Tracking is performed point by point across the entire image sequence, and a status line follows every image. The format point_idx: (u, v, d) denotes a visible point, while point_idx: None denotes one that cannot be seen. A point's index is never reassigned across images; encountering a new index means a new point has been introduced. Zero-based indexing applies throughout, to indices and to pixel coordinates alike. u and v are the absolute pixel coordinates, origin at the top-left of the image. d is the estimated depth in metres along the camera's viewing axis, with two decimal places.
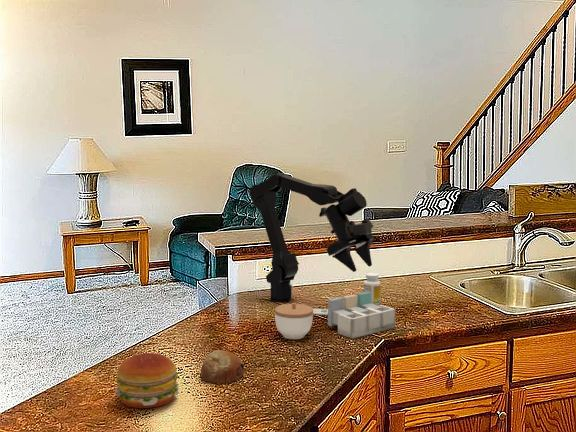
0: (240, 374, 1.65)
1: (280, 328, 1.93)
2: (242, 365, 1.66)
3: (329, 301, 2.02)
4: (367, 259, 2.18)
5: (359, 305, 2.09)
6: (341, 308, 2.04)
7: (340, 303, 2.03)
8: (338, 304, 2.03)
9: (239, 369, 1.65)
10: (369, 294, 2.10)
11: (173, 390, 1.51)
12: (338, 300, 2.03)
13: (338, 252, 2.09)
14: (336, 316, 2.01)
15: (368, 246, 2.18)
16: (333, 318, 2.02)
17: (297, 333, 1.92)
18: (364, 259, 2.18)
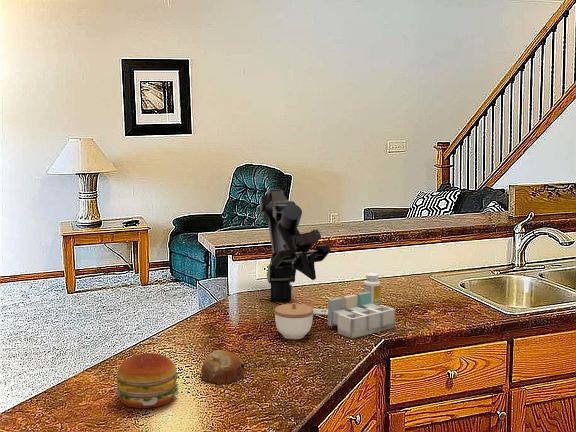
0: (241, 374, 1.65)
1: (280, 328, 1.93)
2: (242, 365, 1.66)
3: (329, 301, 2.02)
4: None
5: (359, 305, 2.09)
6: (341, 308, 2.04)
7: (340, 303, 2.03)
8: (338, 304, 2.03)
9: (240, 369, 1.65)
10: (369, 294, 2.10)
11: (173, 390, 1.51)
12: (338, 300, 2.03)
13: (294, 261, 2.11)
14: (336, 316, 2.01)
15: (312, 259, 2.12)
16: (333, 318, 2.02)
17: (297, 333, 1.92)
18: None
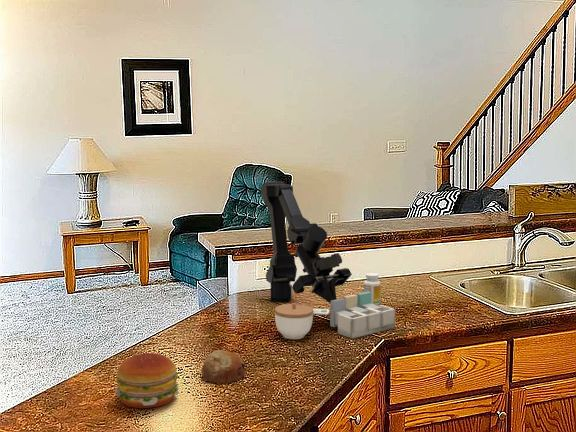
0: (241, 374, 1.65)
1: (280, 328, 1.93)
2: (243, 365, 1.66)
3: (331, 302, 2.01)
4: None
5: (359, 305, 2.09)
6: (344, 309, 2.03)
7: (342, 304, 2.03)
8: (341, 305, 2.02)
9: (240, 369, 1.65)
10: (369, 294, 2.10)
11: (173, 390, 1.51)
12: (341, 301, 2.02)
13: (315, 286, 2.04)
14: None
15: (332, 284, 2.06)
16: (335, 319, 2.01)
17: (297, 333, 1.92)
18: None
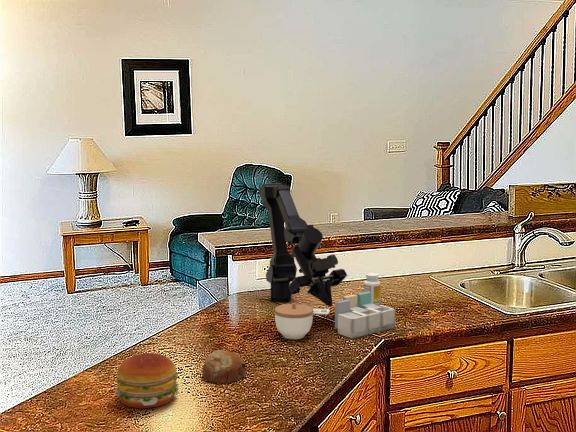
0: (242, 374, 1.65)
1: (280, 328, 1.93)
2: (243, 365, 1.66)
3: (336, 303, 2.00)
4: None
5: (359, 305, 2.09)
6: (348, 310, 2.02)
7: (347, 306, 2.01)
8: (345, 306, 2.01)
9: (241, 369, 1.65)
10: (369, 294, 2.10)
11: (173, 390, 1.51)
12: (345, 302, 2.01)
13: (310, 287, 2.06)
14: None
15: (328, 285, 2.07)
16: None
17: (297, 333, 1.92)
18: None
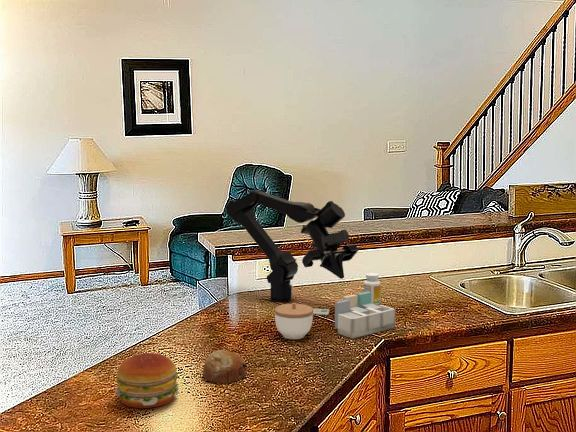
0: (242, 374, 1.65)
1: (280, 328, 1.93)
2: (244, 365, 1.66)
3: (336, 303, 2.00)
4: None
5: (359, 305, 2.09)
6: (348, 310, 2.02)
7: (347, 306, 2.01)
8: (345, 306, 2.01)
9: (241, 369, 1.65)
10: (369, 294, 2.10)
11: (173, 390, 1.51)
12: (345, 302, 2.01)
13: (323, 260, 2.17)
14: None
15: (340, 258, 2.18)
16: None
17: (297, 333, 1.92)
18: None
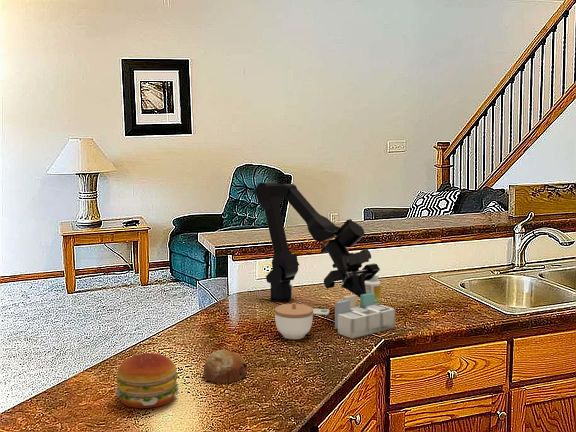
0: (243, 374, 1.65)
1: (280, 328, 1.93)
2: (245, 365, 1.67)
3: (336, 303, 2.00)
4: None
5: (363, 306, 2.08)
6: (348, 310, 2.02)
7: (347, 306, 2.01)
8: (345, 306, 2.01)
9: (242, 369, 1.65)
10: (373, 295, 2.09)
11: (173, 390, 1.51)
12: (345, 302, 2.01)
13: (345, 281, 2.11)
14: None
15: (362, 279, 2.12)
16: None
17: (297, 333, 1.92)
18: None
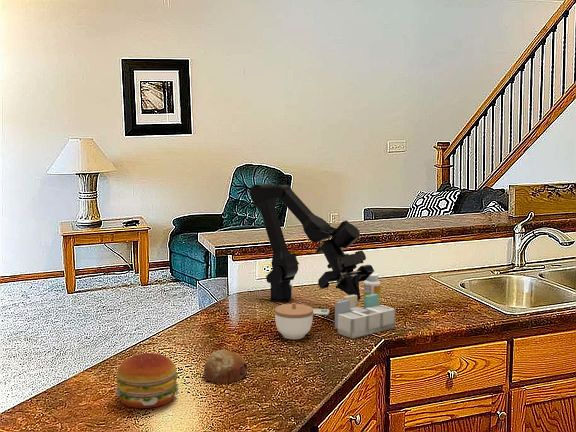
0: (243, 374, 1.65)
1: (280, 328, 1.93)
2: (245, 365, 1.67)
3: (336, 303, 2.00)
4: None
5: (366, 307, 2.06)
6: (348, 310, 2.02)
7: (347, 306, 2.01)
8: (345, 306, 2.01)
9: (242, 369, 1.65)
10: (376, 296, 2.08)
11: (173, 390, 1.51)
12: (345, 302, 2.01)
13: (339, 282, 2.13)
14: None
15: (356, 280, 2.14)
16: None
17: (297, 333, 1.92)
18: None
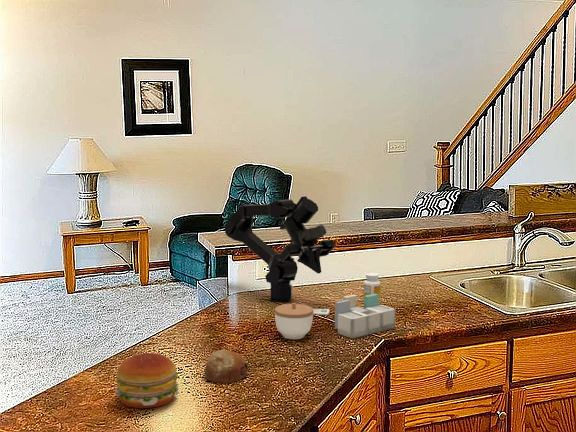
0: (244, 374, 1.65)
1: (280, 328, 1.93)
2: (246, 365, 1.67)
3: (336, 303, 2.00)
4: None
5: (366, 307, 2.06)
6: (348, 310, 2.02)
7: (347, 306, 2.01)
8: (345, 306, 2.01)
9: (243, 369, 1.65)
10: (376, 296, 2.08)
11: (173, 390, 1.51)
12: (345, 302, 2.01)
13: (300, 256, 2.19)
14: None
15: (317, 253, 2.20)
16: None
17: (297, 333, 1.92)
18: None
